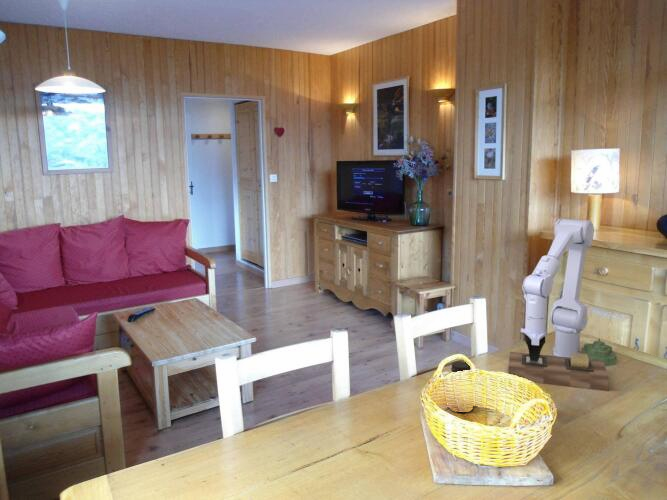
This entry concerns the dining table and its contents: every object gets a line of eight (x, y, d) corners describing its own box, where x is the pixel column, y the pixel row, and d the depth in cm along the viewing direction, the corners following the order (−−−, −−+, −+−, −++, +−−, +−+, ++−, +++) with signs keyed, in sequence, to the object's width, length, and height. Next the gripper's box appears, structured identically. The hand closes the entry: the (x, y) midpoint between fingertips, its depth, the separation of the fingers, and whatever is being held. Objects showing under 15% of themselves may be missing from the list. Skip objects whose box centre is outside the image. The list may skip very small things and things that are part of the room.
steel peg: (525, 369, 158) (526, 356, 157) (541, 371, 157) (542, 358, 156) (525, 375, 154) (525, 362, 153) (541, 377, 153) (542, 363, 152)
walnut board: (509, 363, 163) (509, 350, 163) (602, 373, 154) (603, 359, 154) (507, 379, 152) (508, 365, 152) (607, 391, 143) (608, 375, 143)
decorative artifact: (590, 351, 171) (574, 359, 165) (591, 331, 170) (575, 338, 164) (621, 360, 164) (606, 369, 158) (623, 339, 162) (607, 347, 156)
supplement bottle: (476, 413, 133) (477, 369, 131) (449, 414, 134) (450, 370, 131) (470, 401, 140) (471, 358, 138) (444, 401, 140) (445, 359, 138)
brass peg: (569, 366, 154) (570, 352, 153) (586, 367, 152) (587, 354, 151) (570, 372, 149) (571, 358, 149) (587, 374, 148) (588, 359, 147)
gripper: (521, 307, 160) (520, 350, 163) (520, 322, 147) (519, 368, 149) (546, 309, 158) (544, 352, 160) (548, 324, 144) (545, 371, 147)
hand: (534, 360), depth 155 cm, fingers closed, pressing on steel peg
